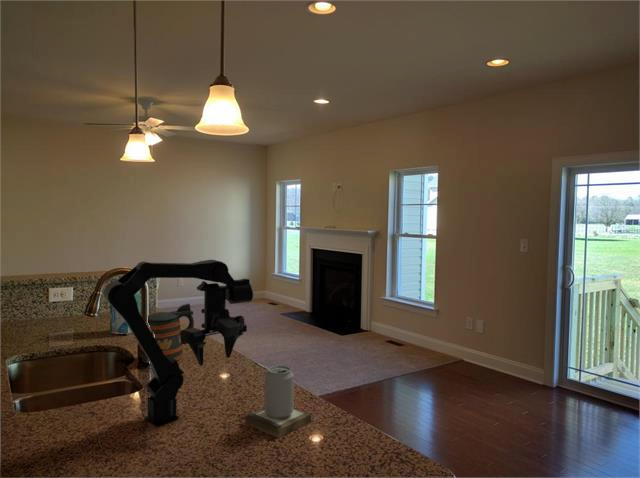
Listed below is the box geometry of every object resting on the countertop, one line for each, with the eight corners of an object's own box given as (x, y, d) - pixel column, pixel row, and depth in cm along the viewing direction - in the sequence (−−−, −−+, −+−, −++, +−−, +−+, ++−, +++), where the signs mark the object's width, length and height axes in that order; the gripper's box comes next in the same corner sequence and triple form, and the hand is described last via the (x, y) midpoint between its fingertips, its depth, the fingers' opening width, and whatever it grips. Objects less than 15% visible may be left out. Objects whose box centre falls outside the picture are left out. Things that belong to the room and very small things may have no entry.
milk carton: (110, 333, 206) (109, 278, 205) (124, 329, 215) (123, 275, 214) (127, 335, 204) (126, 279, 202) (140, 331, 212) (140, 276, 211)
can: (280, 422, 116) (280, 375, 115) (258, 414, 120) (258, 369, 119) (299, 412, 122) (299, 367, 121) (277, 405, 126) (278, 362, 125)
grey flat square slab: (278, 438, 112) (278, 427, 112) (245, 423, 120) (245, 413, 120) (310, 421, 121) (311, 412, 121) (278, 409, 129) (278, 399, 129)
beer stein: (185, 349, 185) (185, 299, 184) (199, 358, 173) (199, 305, 172) (136, 357, 173) (135, 304, 172) (147, 368, 162) (147, 311, 161)
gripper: (204, 315, 116) (204, 376, 117) (260, 304, 130) (259, 359, 131) (179, 309, 123) (179, 367, 124) (234, 299, 137) (234, 351, 138)
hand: (214, 361), depth 129 cm, fingers open, 9 cm apart
